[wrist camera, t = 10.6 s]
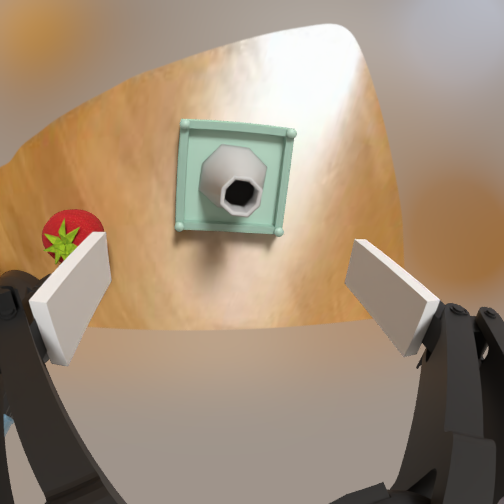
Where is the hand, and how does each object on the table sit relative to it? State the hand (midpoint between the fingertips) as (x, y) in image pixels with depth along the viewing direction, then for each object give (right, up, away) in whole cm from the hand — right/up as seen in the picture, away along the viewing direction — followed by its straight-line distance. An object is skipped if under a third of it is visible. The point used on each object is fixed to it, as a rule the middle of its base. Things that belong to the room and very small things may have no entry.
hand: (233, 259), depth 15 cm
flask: (-1, +8, +16) cm, 18 cm away
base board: (-1, +9, +17) cm, 19 cm away
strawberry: (-19, +4, +17) cm, 25 cm away
